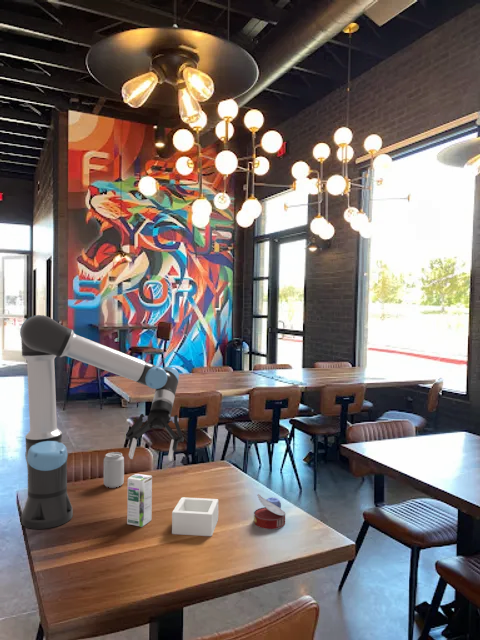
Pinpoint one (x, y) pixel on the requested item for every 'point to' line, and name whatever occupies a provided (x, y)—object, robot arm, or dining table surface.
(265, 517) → the canned food
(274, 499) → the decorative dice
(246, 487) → the dining table surface
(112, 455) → the can
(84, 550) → the dining table surface
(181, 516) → the socket
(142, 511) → the syrup box
